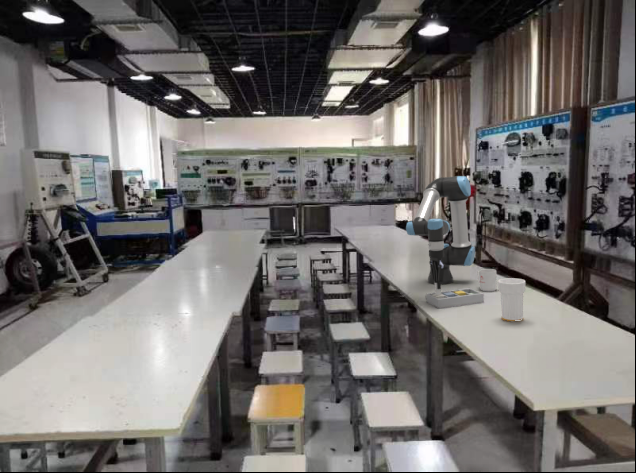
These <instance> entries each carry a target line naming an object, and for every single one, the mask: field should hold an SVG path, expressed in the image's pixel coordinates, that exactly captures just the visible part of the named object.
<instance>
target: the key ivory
mask: <svg viewBox="0 0 636 473" xmlns="http://www.w3.org/2000/svg"><path fill="white" fill-rule="evenodd" d="M432 296H434V297H436V298H438V299H440V298H444V295H442V294H441V295H435V294H433V295H432Z"/></svg>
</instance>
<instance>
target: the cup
mask: <svg viewBox="0 0 636 473" xmlns="http://www.w3.org/2000/svg"><path fill="white" fill-rule="evenodd" d="M497 284H498V285H497V286H498V287H497V289H498V291H499V293H500V298H501V300H500V301H501V303H500V304H501V320H502V321H505V320H507V321H506V322H509V321H515V320H521V319H523V320H524V294H525V292H526V280H525V279H522V278H514V277H513V278H512V277H511V278H510V277H509V278H508V277H507V278H500V279H498V280H497Z"/></svg>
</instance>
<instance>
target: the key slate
mask: <svg viewBox="0 0 636 473" xmlns="http://www.w3.org/2000/svg"><path fill="white" fill-rule="evenodd" d="M443 294H444V295H446V296H448V297H455V294H454V293H452V292H448V293H443Z"/></svg>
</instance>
